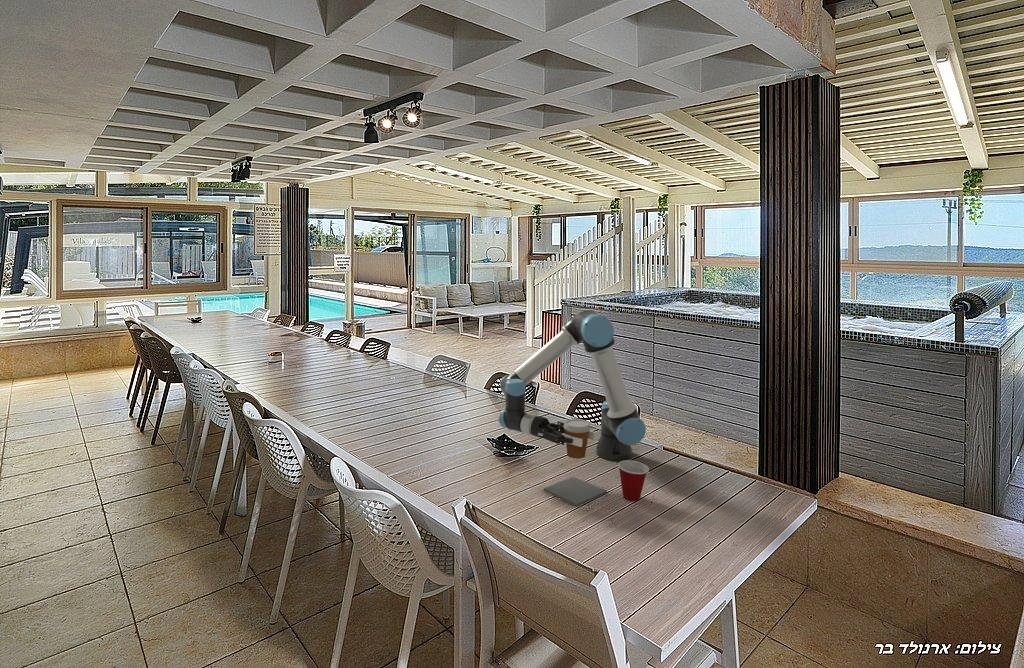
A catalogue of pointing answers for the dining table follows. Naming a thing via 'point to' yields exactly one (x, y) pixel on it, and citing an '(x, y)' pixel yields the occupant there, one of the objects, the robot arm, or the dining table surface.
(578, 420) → the disposable coffee cup
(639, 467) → the plastic cup
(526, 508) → the dining table surface
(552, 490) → the slate board
